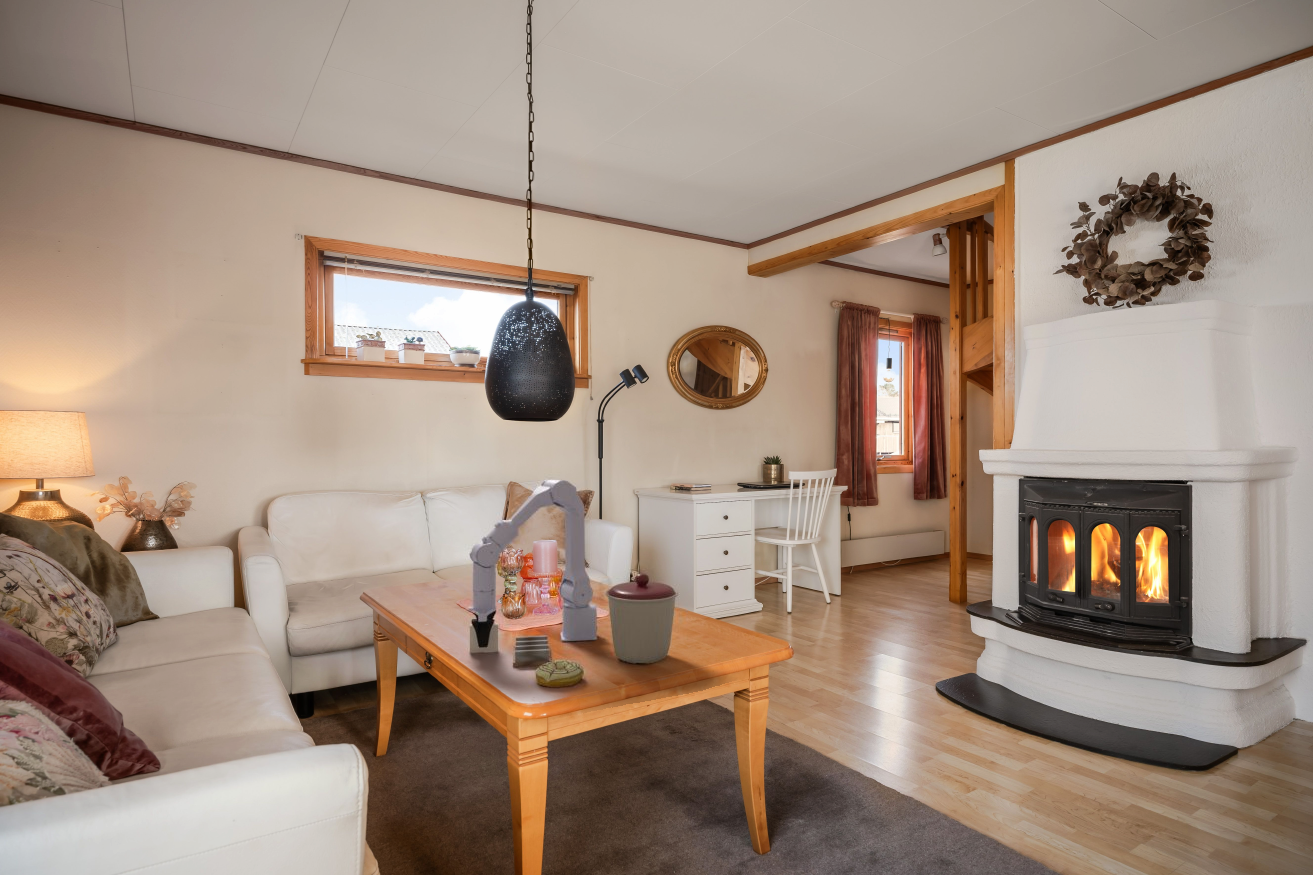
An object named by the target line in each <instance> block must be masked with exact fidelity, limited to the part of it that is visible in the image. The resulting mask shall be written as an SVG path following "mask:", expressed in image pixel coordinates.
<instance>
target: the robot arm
mask: <svg viewBox="0 0 1313 875" xmlns="http://www.w3.org/2000/svg"><path fill="white" fill-rule="evenodd" d="M551 506H552V507H553V506H556V507H557V508H558V509H560V510H561V511H562V512H563V513H564V543H565V544H564V547H565V548H564V550H565V553H564V554H565V555H564V556H565V560H564V562H565V563H564V565H565V570H564V571H563V573H562V575H561V582H560V584H559V587H558V591H559V592H558V593H559V596H560V597H561V598H562V631H561V632H560V634H559V635H560V640H561V642H579V641H597V639H598V637H597V636H598V634H597V632H598V617H597V615H598V614H597V613H598V612H597V605H596V604H590V603H591V601H592V600H593V595H594V591H593V589H592V585H591V583H590V582H591V581H590V580H591V579H590V577H589V575H588V573H587V571H586V555H585V554H586V552H585V551H586V548H585V546H586V544H585V542H586V541H585V532H586V531H585V505H584V502H583V501H582V499H581V497H580V495H579V494H578V492H577V486H575V485H574V484H572V483H571V482H569V481H568V480H562V479H561V480H559V479H555V478H547V479H545V480H544V481H543V482H541V483H540V485H538V486H536V487H535V489H534V491H533V492H532V493H531V495H530V496H529V497H528V498H527V499H526V500H525V501H524V502H523V503H522V505H520V507H519V508H518V509H517V510H516V511H515V512H514V514H513V515H512V516H511V517H510V518H509V519H506V520H505V519H503V520H501V521H500V522H499V521H497V522H496V523H494V528H493V529H492V530H491V531H490V532H489V533H488V534H487V535H486V536H483V537H482V538H481V542H477V543H475V544H474V546H472V548H471V551H470V553H469V558H470V560H471V562H473V565H472V569H473V570H472V606H468V607H467V611H468V612H473V614H474V615H475V618H472V619H471V622H470V624H472V625H473V627H474V629H475V632H476V636H477V642H478V646H479V648H483V647H487V646H488V642H489V636H490V631H491V628H492V626H493V624H494V623H495V621H496V619H494V618H495V615H496V614H497V604H496V603H497V601H496V600H497V594H496V593H497V590H496V588H497V586H496V585H497V581H496V580H497V577H496V574H497V573H496V572H497V571H496V564H497V563H499V560H500V555H501V553H502V552H504V550H506V549H507V547H508V546H509V545H511V544H512V542H513V541H514V540H516V538H518V536H519V529H520V528H521V526H523V525H524V524H525V523H526V522H527V521H528V520H529V519H530V518H531V517H532V516H534V514H536V512H537V511H539V510H540V509H541V508H546V507H551Z"/></svg>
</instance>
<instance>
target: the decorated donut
mask: <svg viewBox="0 0 1313 875" xmlns="http://www.w3.org/2000/svg"><path fill="white" fill-rule="evenodd" d="M584 672H585V670H584V667H583V665H582V664H580V663H578V662H577V661H574V660H568V659H557V660H551V662H548V663H545V664H543V665H541V666H538V668H536V670H535V672H534V673H535V679H536V682H537V684H538V685H539V686H540V685H542V687H545V686H547V688H555V687H558V688H561V687H563V688H565V687H567V686H573V685H575V684H577V683H579V682H580V681H581V680H582V678H583V676H584V674H585V673H584Z"/></svg>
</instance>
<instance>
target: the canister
mask: <svg viewBox="0 0 1313 875" xmlns="http://www.w3.org/2000/svg"><path fill="white" fill-rule="evenodd" d="M678 595H679V591H678V590H677V589H675V588H673V587H672V586H670V585H669V584H665V583H662V582H657V581H656V582H655V581H650V576H649V575H648V574H646V573H638V574H636V575H635V577H634V581H630V582H622V583H617V584H616V585H613V586H612V587H611V588H609V589H607V590H606V592H605V596H606V597H607V598H608V599H607V600H608V607H609V609H608V610H609V618H610V628H611V636H612V643H613V650H614V652H615V655H616V656H617V658H618V659H619V660H621V661H623V662H625V661H626V663H629V664H636V663H647V664H653V663H652V662H654V663H657V662H656V661H658V662H660V661H662V660H664V659H665V658H666V657H667V655H668V653H669V651H670V647H671V640H672V633H673V625H674V614H675V608H676V607H675V606H676V605H675V604H676V598H677V597H678ZM663 658H664V659H663Z"/></svg>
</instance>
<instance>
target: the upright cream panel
mask: <svg viewBox="0 0 1313 875" xmlns="http://www.w3.org/2000/svg"><path fill="white" fill-rule="evenodd" d="M477 652H484V653H498V652H499V622H494V624H493V626H492V628H491V631H490V636H489V642H488V646H487V647H483V648H479V646H478V642H477V636H476V632H475V629H474V627H473V625H472V623H470V624H469V654H478V653H477Z"/></svg>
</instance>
